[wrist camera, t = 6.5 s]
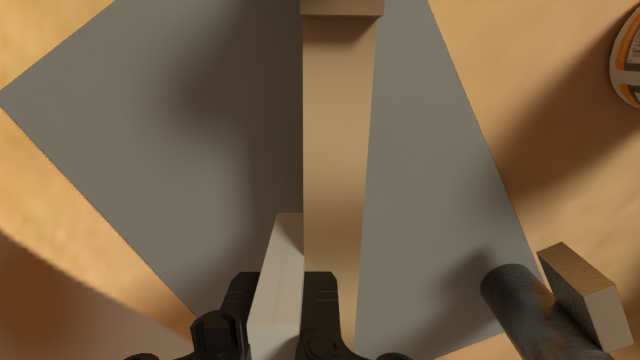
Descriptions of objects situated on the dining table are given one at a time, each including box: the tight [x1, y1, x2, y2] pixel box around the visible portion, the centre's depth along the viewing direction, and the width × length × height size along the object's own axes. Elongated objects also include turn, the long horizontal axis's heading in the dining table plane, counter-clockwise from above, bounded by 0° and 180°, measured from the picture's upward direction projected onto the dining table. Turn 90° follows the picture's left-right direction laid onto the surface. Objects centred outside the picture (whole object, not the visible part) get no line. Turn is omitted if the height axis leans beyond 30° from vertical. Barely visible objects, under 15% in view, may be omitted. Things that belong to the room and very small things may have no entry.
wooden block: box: [300, 0, 385, 352], centre depth 13 cm, size 16×2×6 cm, turn 179°
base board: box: [0, 0, 545, 360], centre depth 18 cm, size 27×20×1 cm
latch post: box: [480, 242, 634, 360], centre depth 15 cm, size 6×5×11 cm
